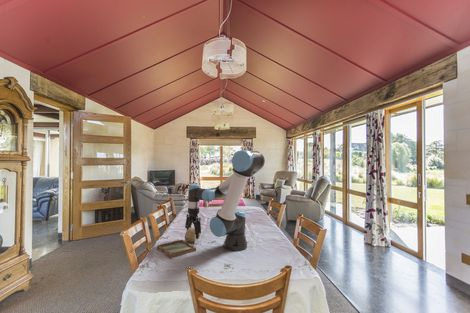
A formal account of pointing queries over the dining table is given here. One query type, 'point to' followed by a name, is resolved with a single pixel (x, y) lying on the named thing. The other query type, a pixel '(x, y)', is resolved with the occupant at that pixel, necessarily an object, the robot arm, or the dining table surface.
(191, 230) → the coral
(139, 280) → the dining table surface
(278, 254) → the dining table surface
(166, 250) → the base
